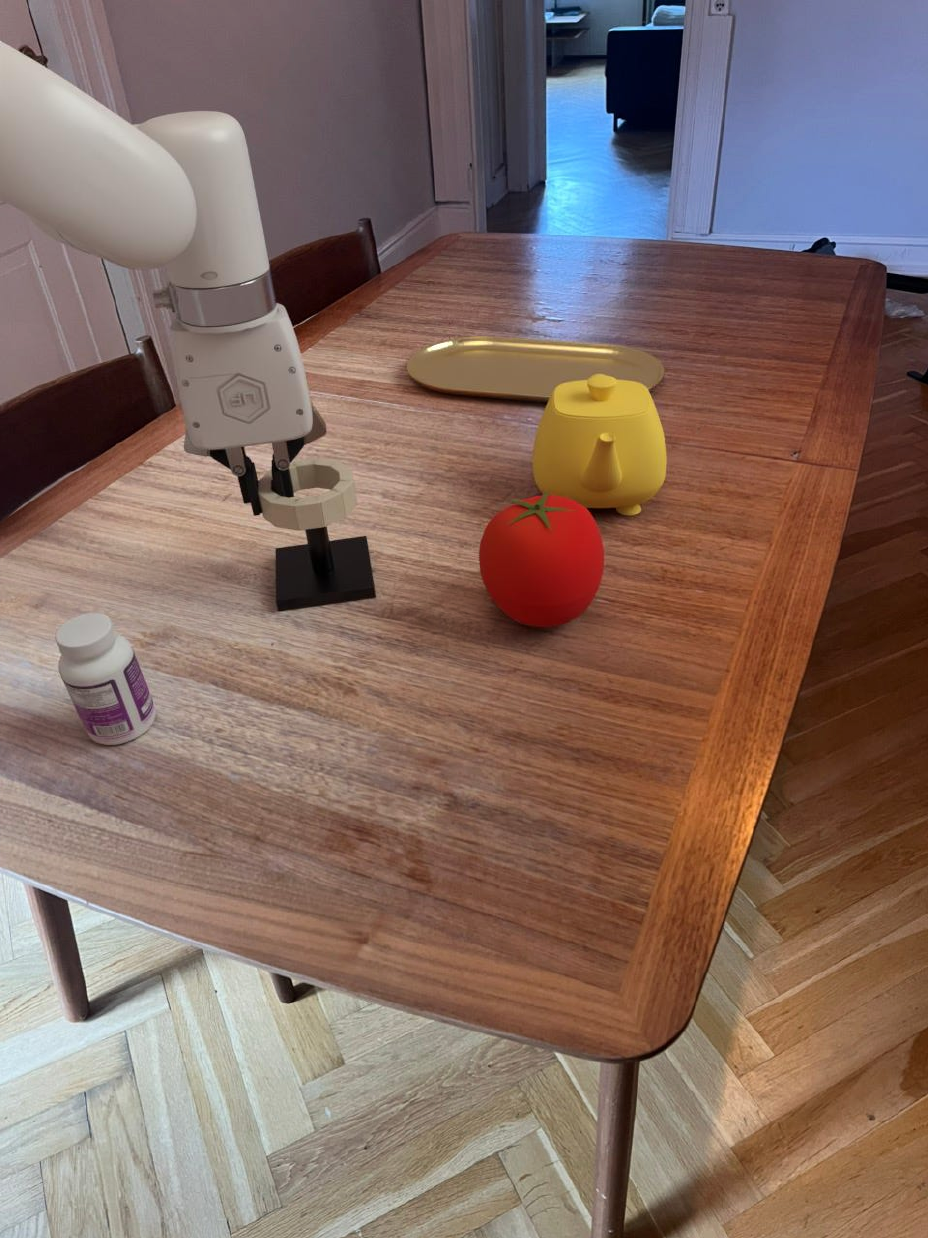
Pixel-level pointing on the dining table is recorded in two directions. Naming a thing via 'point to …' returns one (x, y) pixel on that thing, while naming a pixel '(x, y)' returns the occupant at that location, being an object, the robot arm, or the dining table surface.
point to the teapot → (600, 444)
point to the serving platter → (525, 366)
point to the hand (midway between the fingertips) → (270, 504)
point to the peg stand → (323, 571)
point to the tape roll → (310, 509)
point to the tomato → (542, 560)
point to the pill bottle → (104, 680)
